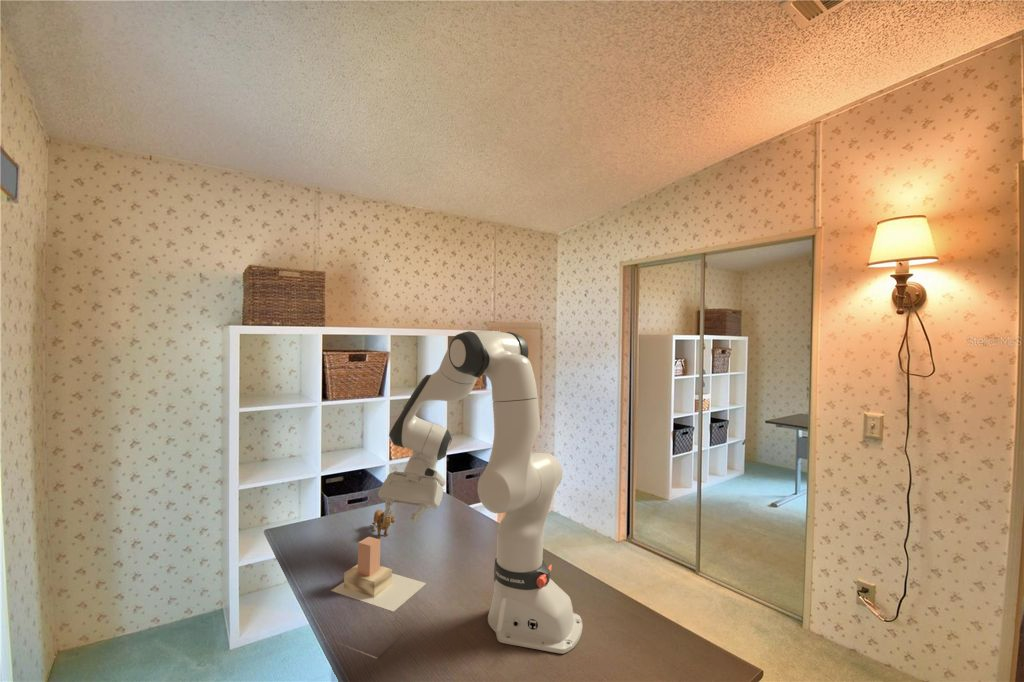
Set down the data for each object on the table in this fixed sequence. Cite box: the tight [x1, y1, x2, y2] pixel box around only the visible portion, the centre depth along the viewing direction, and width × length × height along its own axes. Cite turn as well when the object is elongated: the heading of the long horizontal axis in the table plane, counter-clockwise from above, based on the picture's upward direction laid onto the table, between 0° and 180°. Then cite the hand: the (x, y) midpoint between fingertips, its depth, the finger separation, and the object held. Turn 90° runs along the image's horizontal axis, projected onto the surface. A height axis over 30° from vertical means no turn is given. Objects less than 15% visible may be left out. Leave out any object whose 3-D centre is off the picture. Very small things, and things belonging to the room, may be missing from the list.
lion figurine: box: [371, 509, 397, 540], centre depth 154 cm, size 15×5×9 cm, turn 39°
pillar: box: [357, 536, 381, 576], centre depth 121 cm, size 4×4×8 cm
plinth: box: [343, 563, 393, 597], centre depth 121 cm, size 10×7×4 cm
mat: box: [330, 572, 427, 612], centre depth 121 cm, size 20×14×1 cm
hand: (399, 518), depth 132 cm, fingers open, 8 cm apart
